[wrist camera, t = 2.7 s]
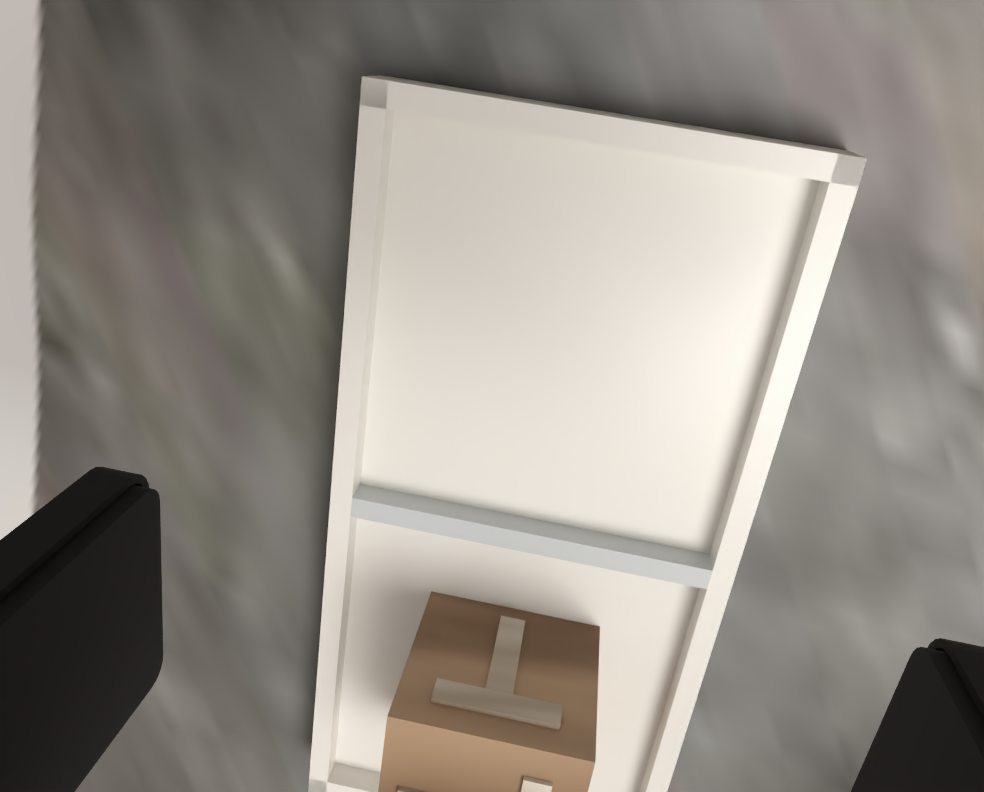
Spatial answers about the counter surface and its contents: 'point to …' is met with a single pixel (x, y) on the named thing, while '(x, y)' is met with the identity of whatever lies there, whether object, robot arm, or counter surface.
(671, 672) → the tray
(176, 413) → the counter surface
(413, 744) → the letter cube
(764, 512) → the counter surface
